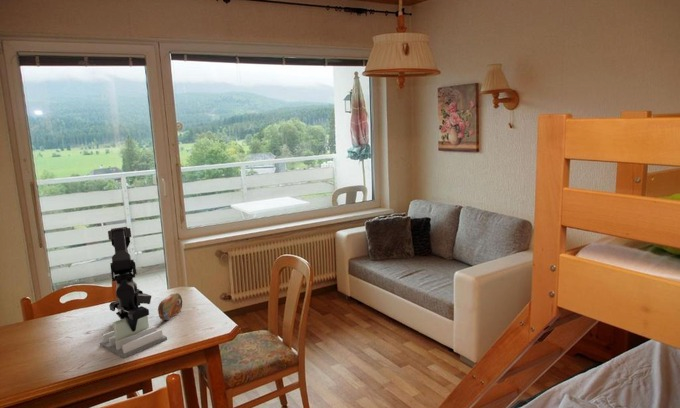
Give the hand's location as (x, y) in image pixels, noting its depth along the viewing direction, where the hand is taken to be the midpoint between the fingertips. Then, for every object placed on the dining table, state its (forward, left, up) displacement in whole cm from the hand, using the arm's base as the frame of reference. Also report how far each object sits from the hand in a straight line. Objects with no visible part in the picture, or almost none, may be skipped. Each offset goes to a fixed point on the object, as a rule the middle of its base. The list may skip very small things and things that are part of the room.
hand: (132, 330), depth 178 cm
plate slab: (0, 0, -3) cm, 3 cm away
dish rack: (0, 0, -5) cm, 5 cm away
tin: (-10, +22, -5) cm, 25 cm away
